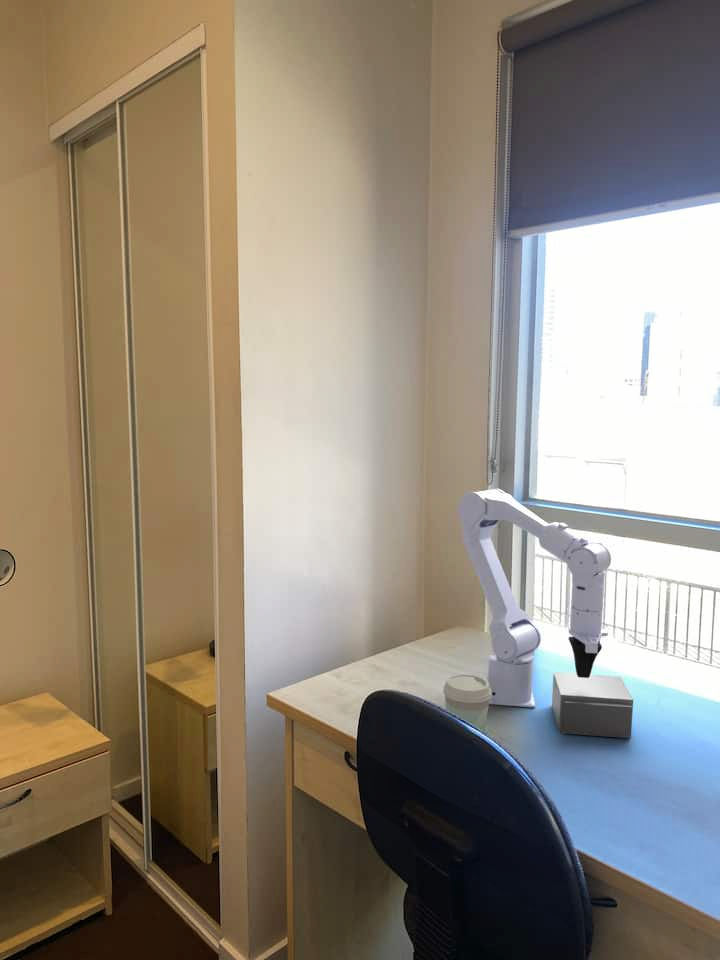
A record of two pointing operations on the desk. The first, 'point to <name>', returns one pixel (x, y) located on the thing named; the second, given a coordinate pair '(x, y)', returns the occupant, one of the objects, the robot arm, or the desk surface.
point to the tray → (597, 719)
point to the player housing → (587, 691)
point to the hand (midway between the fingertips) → (582, 676)
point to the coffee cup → (468, 698)
